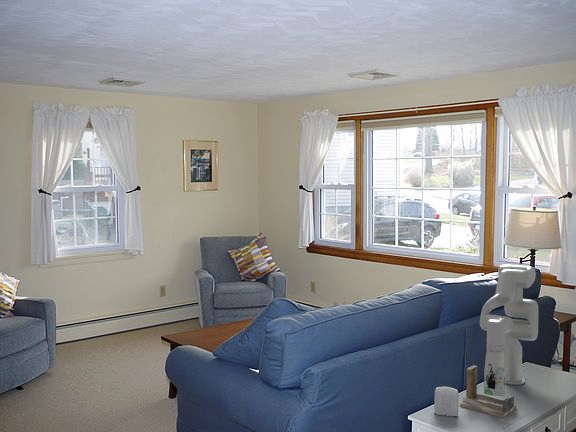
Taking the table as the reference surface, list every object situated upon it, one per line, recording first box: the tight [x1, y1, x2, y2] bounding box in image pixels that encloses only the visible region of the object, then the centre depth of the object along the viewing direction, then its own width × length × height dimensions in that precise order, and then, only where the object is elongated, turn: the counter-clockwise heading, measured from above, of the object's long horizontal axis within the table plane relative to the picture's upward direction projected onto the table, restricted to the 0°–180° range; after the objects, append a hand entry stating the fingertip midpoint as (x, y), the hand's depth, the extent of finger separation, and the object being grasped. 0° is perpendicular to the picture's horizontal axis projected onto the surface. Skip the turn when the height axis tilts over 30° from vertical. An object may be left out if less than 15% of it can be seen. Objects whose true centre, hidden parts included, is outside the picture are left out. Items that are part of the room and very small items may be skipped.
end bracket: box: [465, 365, 478, 399], centre depth 281 cm, size 6×2×15 cm, turn 137°
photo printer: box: [433, 386, 460, 417], centre depth 268 cm, size 10×4×12 cm, turn 72°
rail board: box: [459, 392, 517, 419], centre depth 276 cm, size 14×20×6 cm
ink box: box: [483, 368, 506, 398], centre depth 273 cm, size 9×5×12 cm, turn 61°
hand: (494, 386), depth 273 cm, fingers closed on ink box, 6 cm apart
